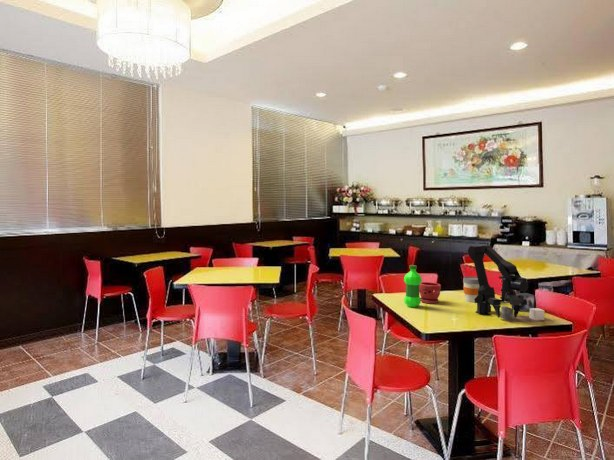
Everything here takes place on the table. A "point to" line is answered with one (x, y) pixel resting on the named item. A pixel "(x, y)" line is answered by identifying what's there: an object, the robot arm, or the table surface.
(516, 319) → the walnut strip
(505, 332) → the table surface
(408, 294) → the plastic bottle
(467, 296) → the reusable coffee cup
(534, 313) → the off-white block
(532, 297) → the small box
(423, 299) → the plant pot
